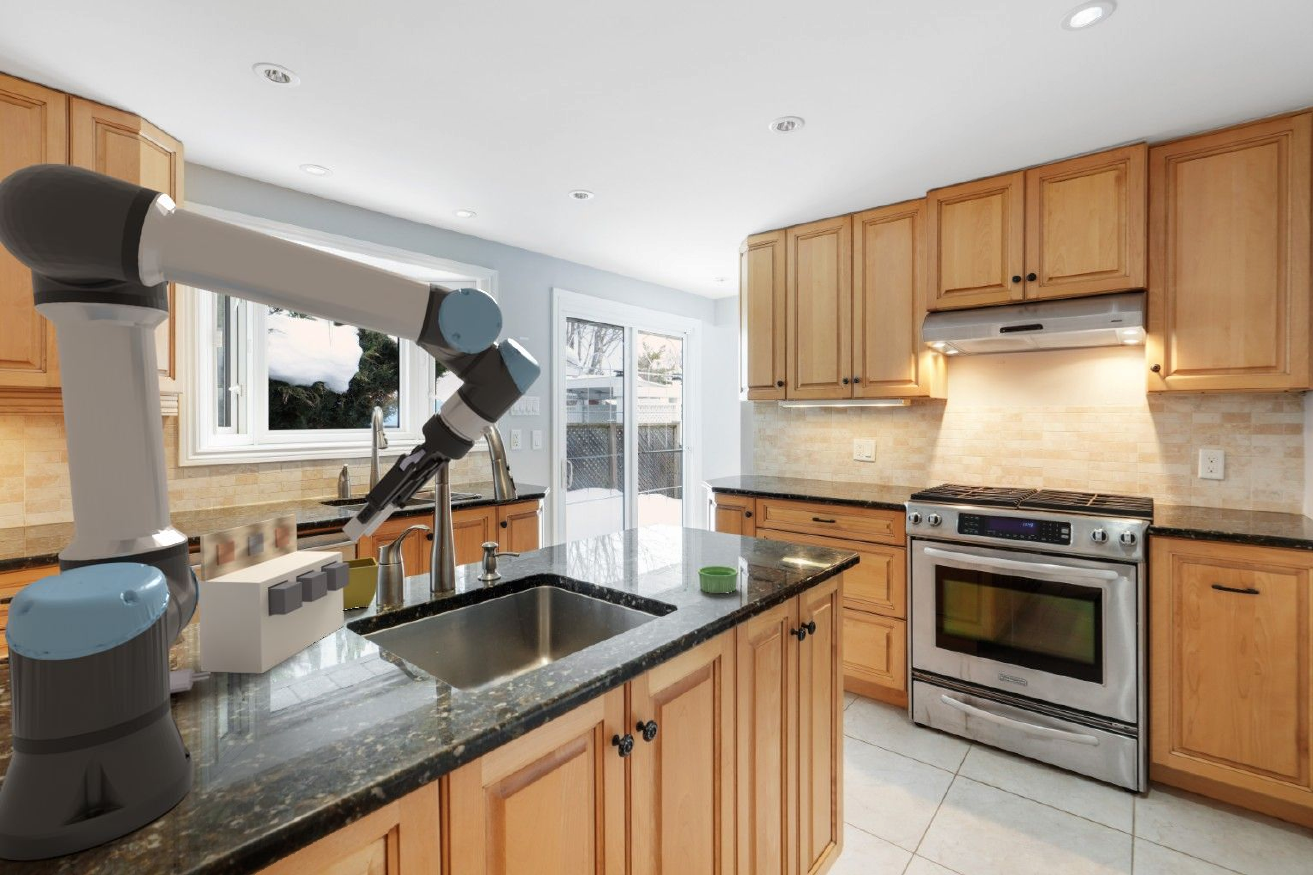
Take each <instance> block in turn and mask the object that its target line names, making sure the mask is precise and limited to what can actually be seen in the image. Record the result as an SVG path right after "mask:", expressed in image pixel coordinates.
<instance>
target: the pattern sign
mask: <svg viewBox="0 0 1313 875" xmlns="http://www.w3.org/2000/svg"><path fill="white" fill-rule="evenodd" d="M297 529H298V528H297V514H296V513H291V514H286V515H284V516H283V515H282V516H279V517H275V518H270V519H267V520H262V521H257V522H253V523H250V524H245V525H240V526H238V527H232V528H228V529H224V530H223V529H222V530H219V531H215V532H211V533H207V534H206V533H205V534H203V535H200V536H199V537H200V538H199V539H200V540H199V541H200V546H199V547H200V570H201V571H200V573H201V574H200V578H201V580H200V581H208V580H211V579H214V578H217V577H220V576H223V575H226V574H229V573H232V572H235V571H238V570H241V569H244V568H247V567H250V566H253V565H256V564H260V563H263V562H266V561H269V560H272V559H275V558H278V557H281V556H284V555H287V554H290V553H293V552H296V551H298V543H297V541H298V536H297V535H298V534H297V533H298V532H297V531H298V530H297Z"/></svg>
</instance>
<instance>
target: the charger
mask: <svg viewBox="0 0 1313 875" xmlns="http://www.w3.org/2000/svg"><path fill="white" fill-rule="evenodd" d="M195 672H196V670H195V669H194V667H192V668H184V669H179V670H173V671H170V694H174V693H175V694H176V693H180V692H185V691H186V692H187V691H191V690H192V687H193V684H194V682H199V681H204V680H209V678H210V676H209V675H212V674H211V672H210V671H209V672H207V671H202V672H198V673H195Z"/></svg>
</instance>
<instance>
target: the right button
mask: <svg viewBox="0 0 1313 875" xmlns="http://www.w3.org/2000/svg"><path fill="white" fill-rule="evenodd" d="M321 572H327V591H337V590H339V589H341V588H343V587H345V586H347V585H349V563H330V564H327V565H325V566H322V567H321Z"/></svg>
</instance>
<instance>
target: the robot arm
mask: <svg viewBox="0 0 1313 875" xmlns="http://www.w3.org/2000/svg"><path fill="white" fill-rule="evenodd" d="M0 243H1V245H2V246H3V247H4V248H5V249H6V251H7V252H8V253H9V254H10V255H12V256H13V257H14V258H15V259H16V260H17V261H19V262H20V263H21V264H22V265H24V266H25V267H27V268H29V269H30V274H31V285H32V294H33V296H32V297H33V306H34V310H35V311H36V312H37V313H38V314H39V315H41V316H43V317H44V318H45V319H47V320H48V321H49V322H51V323H52V325H53V326H54V327H55V333H56V344H57V354H58V355H57V356H58V364H59V375H60V376H59V378H60V385H61V386H60V387H61V399H62V409H63V410H62V411H63V417H64V419H63V421H64V429H65V441H66V449H67V460H68V472H69V481H70V482H69V483H70V485H69V486H70V494H71V504H72V512H73V513H72V515H73V527H74V538H73V540H72V541H71V542H70V543H69V544H68V545H66V547H65V548H64V549H62V550H61V551H60V552H59V553H58V566H59V573H58V574H54V575H53V574H52V575H47V576H45V577H42V578H40V579H37V580H35V581H33V582H31V583H29V584H28V585H26V586H25V587H23V588H21V589H20V590H19V591H18V592H17V593H16V594H15V595H14V596H13V597H12V599H11V600H10V603H9V606H8V612H7V621H6V623H5V632H4V637H5V638H4V639H5V640H6V643H7V654H8V656H7V657H8V675H9V676H8V677H9V696H10V697H9V699H10V716H11V737H12V738H11V739H12V740H11V741H12V755H11V759H10V762H9V765H8V767H7V771H6V773H5V776H4V779H3V782H2V785H1V787H0V858H1V859H4V860H13V861H33V860H43V859H49V858H55V857H59V856H65V855H68V854H69V855H70V854H73V853H76V852H81V851H83V850H88V849H91V848H93V847H96V846H99V845H103V844H104V843H108V842H110V841H112V840H115V839H118V838H121V837H123V836H125V835H127V834H130V833H132V832H133V831H136V830H138V829H140V828H142V827H143V826H145V825H147V824H149V823H150V822H152V821H154V820H157V818H160V817H161V816H162V815H164V814H165V813H167V812H168V811H170V810H171V809H172V808H174V807H175V806H176V805H177V804H178V803H180V802H181V801H182V799H183V798H184V797H186V795H187V794H188V793H189V791H190V790H191V788H192V786H193V784H194V781H195V780H194V778H195V777H194V775H195V774H194V759H193V755H192V753H191V751H190V750H189V749H188V748H187V747H186V745H185V742H184V739H183V736H182V734H181V731H180V729H179V727H178V725H177V723H176V721H175V719H174V717H173V715H172V707H171V693H170V672H171V671H170V649H171V647H172V646H173V644H174V643H175V642H176V640H177V639H178V638H179V636H180V635H181V633H182V632H183V631H184V629H186V627H187V626H188V625H189V623H190V622H191V620H192V618H193V617H194V615H195V613H196V611H197V606H199V595H200V588H199V582H198V581H199V579H198V576H197V574H196V572H195V570H194V569H193V566H192V565H191V561H190V560H191V558H190V550H189V539H188V536H187V535H186V534H185V533H183V532H181V531H180V530H179V529H176V528H175V527H174V526H173V525H172V521H171V520H172V519H171V512H170V511H171V509H170V497H169V487H168V486H169V485H168V474H167V464H166V453H165V450H166V449H165V439H164V438H165V437H164V427H163V415H162V404H161V391H160V381H159V380H160V379H159V369H158V368H159V367H158V357H157V356H158V355H157V345H156V333H155V331H156V329H157V328H158V327H159V326H160V325H161V324H162V323H163V322H164V321H166V320H168V318H169V317H170V311H169V310H170V309H169V297H168V285H169V284H170V282H171V283H173V284H177V285H182V286H186V287H190V288H194V289H195V288H196V289H197V290H198V289H199V290H203V291H206V292H211V293H214V294H215V293H216V294H219V295H222V296H223V295H224V296H227V297H230V298H235V299H240V300H243V301H248V302H251V303H256V304H261V305H265V306H268V307H273V308H277V309H281V310H285V311H290V312H293V313H297V314H302V315H305V316H309V317H313V318H318V319H320V320H321V319H323V320H326V321H331V322H335V323H338V324H343V325H346V326H351V327H355V328H358V329H363V330H367V331H372V332H375V333H380V334H384V335H388V336H391V337H396V338H400V339H404V340H407V341H408V340H409V341H412V342H414V343H415V345H416V346H417V347H419V348H421V349H423V350H424V351H425V352H427V353H428V354H429V355H430V356H432V357H433V358H434V359H435V360H436V361H438V362H439V363H440V364H441V365H443V366H444V367H445V368H446V369H447V370H448V371H449V372H451V373H452V374H454V375H455V376H456V377H457V378H458V380H461V381H462V382H463V384H461V385H460V386H459V388H457V389H456V390H455V391H454V392H453V394H451V395H450V396H449V397H448V398H447V399H446V401H444V403H443V404H442V405H441V406H440V409H439V411H436V412H435V413H434V414H433V415H432V416H431V417H430V418H429V419H428V420H427V421H426V422H425V423H424V424H423V426H422V428H421V432H422V435H423V436H424V442H423V443H421V444H417V445H416V446H414V447H413V449H412V450H411V452H410V454H409V455H408V454H407V453H405V452H404V453H402V454H400V455H399V456H398V458H397V460H396V462H394V464H393V466H392V467H391V468H390V469H389V470H388V471H387V472H386V473H385V475H384V476H383V477H382V478H381V479H380V480H379V481H378V482H377V484H375V486H374V487H373V488H372V489H371V490H370V491H369V493H366V494H365V495H364V500H365V501H366V503H365V504H364V505H363V506H362V507H361V508H360V509H359V510H358V512H357V513H356V514H355V515H354V516H353V517H352V518H351V519H350V520H349V521H348V522H347V523H346V524H345V525H344V526H343V527H342V531H343V532H344V533H345V534H346V535H347V537H349V538H350V540H351V541H352V542H357V541H358V540H359V539H360V538H361V537H362V536H363V535H365V536H366V537H370V536H372V534H374V533H375V531H376V530H378V528H380V527H381V526H382V524H383V523H384V522H385V521H386V520H387V519H388V518H389V517H390V516H391V515H392V514H393V513H394V512H395V511H396V510H397V509H398V508H399V509H400V510H405V508H406V507H407V505H406V504H405V503H406V502H409V501H411V500H412V498H413V497H414V496H415V495H417V494H418V492H420V491H421V489H422V488H423V487H424V486H426V484H427V483H429V481H430V480H431V479H432V478H433V477H434V476H435V475H436V474H437V473H438V472H439V471H440V470H441V469H443V467H445V466H447V464H449V463H450V462H451V460H454V461H460V460H462V459H463V458H464V456H465V455H467V453H468V452H470V450H472V449H473V447H474V446H475V444H476V441H479V440H480V439H481V438H483V437H484V435H485V434H486V435H490V434H492V432H493V430H492V429H491V427H492V426H494V425H495V424H496V423H497V422H498V421H499V419H501V418H502V417H503V415H505V414H506V413H507V412H508V411H509V410H510V409H511V408H512V407H513V405H515V403H517V402H518V401H519V400H520V399H521V398H522V397H523V396H525V394H526V393H527V391H528V390H529V389H530V388H531V387H532V385H533V384H534V383H535V382H536V381H537V380H538V378H539V377H540V375H541V366H540V365H539V363H538V361H537V360H536V359H535V358H534V357H533V356H532V355H531V353H529V352H528V350H526V349H525V348H524V347H523V346H521V345H520V344H519V343H517V342H516V341H515V340H513V339H511V338H505V339H504V340H503V341H502V342H499V343H497V342H496V340H497V339H498V338H499V336H500V335H501V332H502V328H503V314H502V310H501V308H500V306H499V304H498V302H497V301H496V300H495V298H494V297H492V295H490V294H489V293H487V292H486V291H484V290H481V289H479V288H474V287H465V288H462V287H461V288H457V289H455V288H449V287H446V286H443V285H439V284H436V283H432V282H430V281H429V282H428V281H426V280H422V279H419V278H415V277H412V276H409V275H405V274H403V273H400V272H399V273H398V272H395V271H393V270H388V269H386V268H382V267H378V266H375V265H373V264H368V263H365V262H361V261H358V260H354V259H352V258H348V257H345V256H342V255H337V254H335V253H331V252H327V251H324V250H321V249H318V248H315V247H310V246H308V245H304V244H301V243H297V242H294V241H292V240H291V241H290V240H287V239H284V238H280V237H277V236H274V235H270V234H267V233H264V232H260V231H256V230H253V229H251V228H247V227H243V226H240V225H236V224H234V223H230V222H226V221H223V220H219V219H216V218H213V217H210V216H207V215H203V214H200V213H196V212H193V211H189V210H186V209H183V208H180V207H179V206H177V205H176V203H175V202H174V201H173V199H172V198H171V197H170V195H169V194H166V193H164V192H161V191H158V190H154V189H152V188H148V187H144V186H142V185H141V186H140V185H138V184H135V183H132V182H129V181H125V180H122V179H119V178H117V177H114V176H110V175H107V174H104V173H101V172H98V171H94V170H91V169H87V168H84V167H81V166H76V165H71V164H67V163H66V164H64V163H63V164H62V163H42V164H41V163H40V164H33V165H29V166H26V167H23V168H20V169H17V170H15V171H14V172H13V173H11V174H9V175H7V176H6V177H5V178H3V179H2V180H1V181H0ZM54 856H55V857H54Z"/></svg>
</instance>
